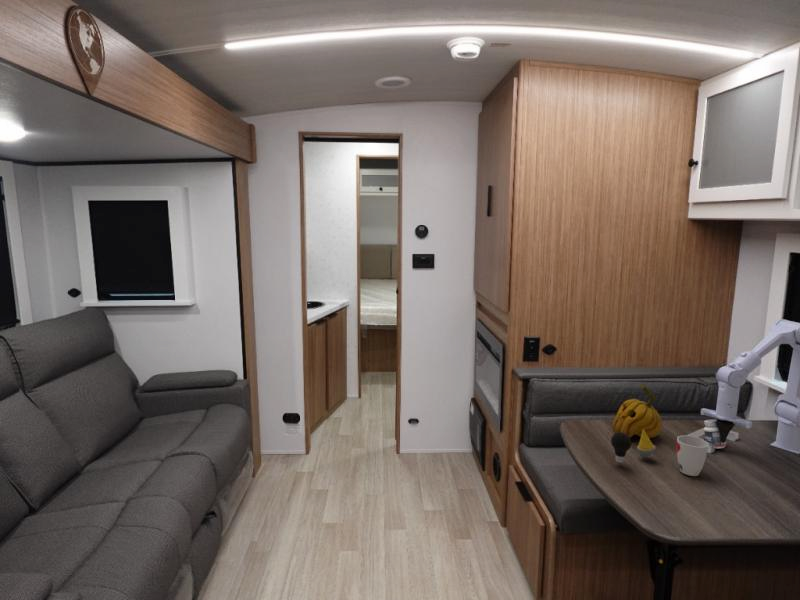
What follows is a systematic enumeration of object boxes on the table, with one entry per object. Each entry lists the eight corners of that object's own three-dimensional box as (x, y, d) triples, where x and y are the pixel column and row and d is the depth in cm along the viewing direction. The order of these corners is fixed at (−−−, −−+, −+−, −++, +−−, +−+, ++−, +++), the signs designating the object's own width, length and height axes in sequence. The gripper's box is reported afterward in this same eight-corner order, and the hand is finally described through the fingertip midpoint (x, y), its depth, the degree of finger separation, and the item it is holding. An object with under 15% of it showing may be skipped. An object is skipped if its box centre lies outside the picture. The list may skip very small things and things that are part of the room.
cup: (678, 462, 152) (681, 433, 151) (708, 472, 147) (711, 441, 145) (670, 471, 147) (673, 441, 145) (700, 481, 141) (704, 449, 139)
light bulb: (606, 463, 152) (608, 433, 150) (613, 456, 156) (615, 427, 155) (626, 469, 148) (628, 438, 146) (632, 462, 152) (634, 433, 151)
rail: (710, 430, 177) (711, 424, 177) (737, 439, 170) (738, 433, 169) (682, 443, 166) (683, 436, 166) (710, 453, 159) (711, 446, 159)
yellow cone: (659, 460, 152) (654, 431, 151) (641, 462, 153) (636, 433, 152) (654, 453, 157) (649, 424, 156) (636, 455, 159) (632, 426, 158)
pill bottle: (704, 446, 165) (699, 420, 166) (720, 444, 165) (715, 418, 166) (712, 449, 160) (706, 422, 161) (728, 447, 159) (722, 420, 161)
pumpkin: (649, 459, 167) (685, 414, 165) (618, 436, 163) (654, 390, 162) (625, 440, 180) (657, 398, 179) (595, 419, 176) (628, 376, 175)
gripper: (698, 398, 162) (693, 436, 164) (747, 411, 150) (742, 452, 152) (708, 394, 166) (703, 432, 168) (756, 407, 154) (751, 447, 156)
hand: (722, 441), depth 160 cm, fingers closed, pressing on pill bottle
